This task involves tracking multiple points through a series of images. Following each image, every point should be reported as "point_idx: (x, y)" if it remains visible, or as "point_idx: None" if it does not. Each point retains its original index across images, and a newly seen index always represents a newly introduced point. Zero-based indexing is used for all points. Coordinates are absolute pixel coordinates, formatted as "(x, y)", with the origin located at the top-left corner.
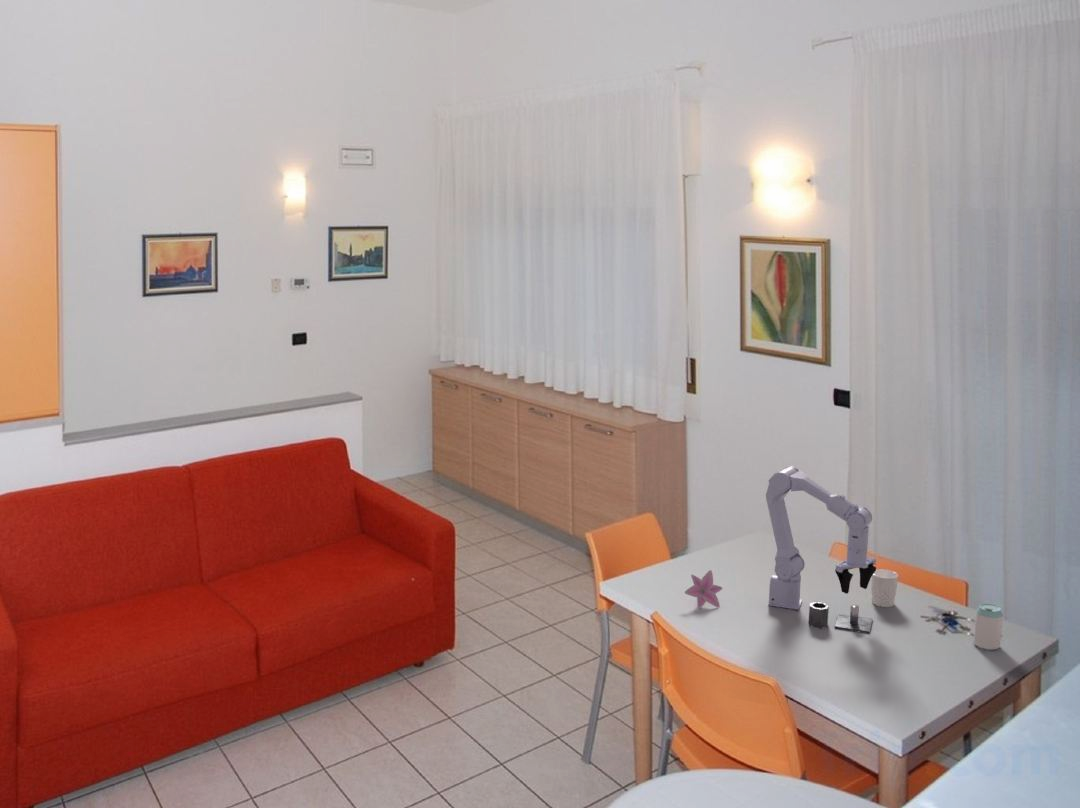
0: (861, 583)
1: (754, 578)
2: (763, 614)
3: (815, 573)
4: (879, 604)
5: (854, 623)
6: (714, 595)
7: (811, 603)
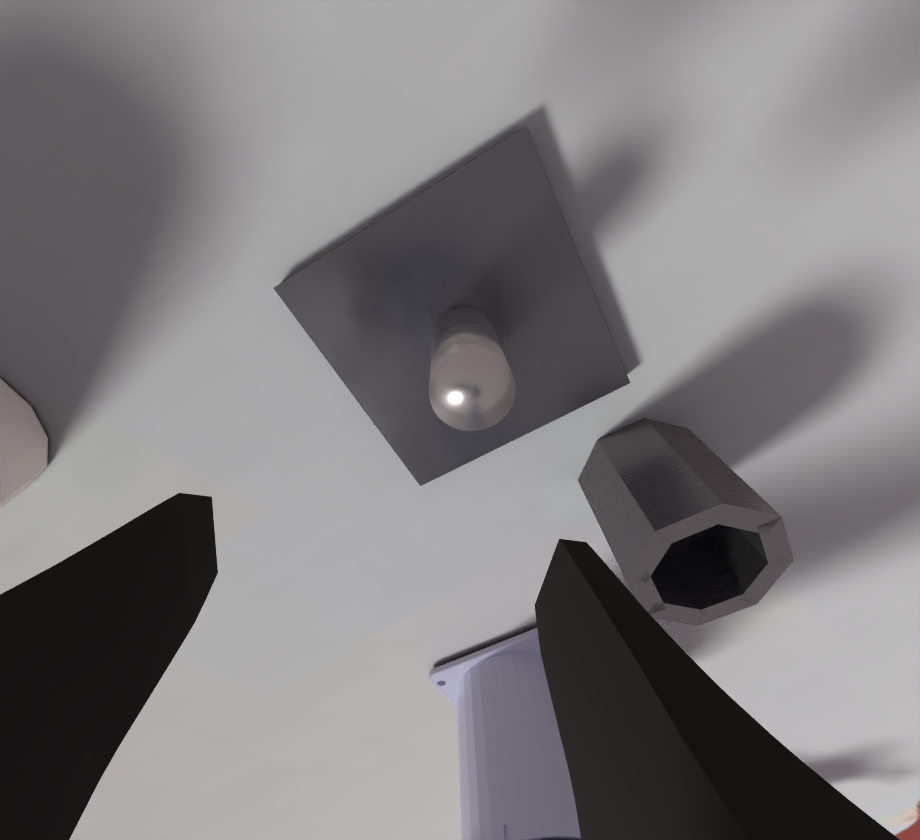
0: (183, 609)
1: (398, 835)
2: (708, 667)
3: (110, 785)
4: (18, 411)
5: (487, 317)
6: None
7: (705, 617)
